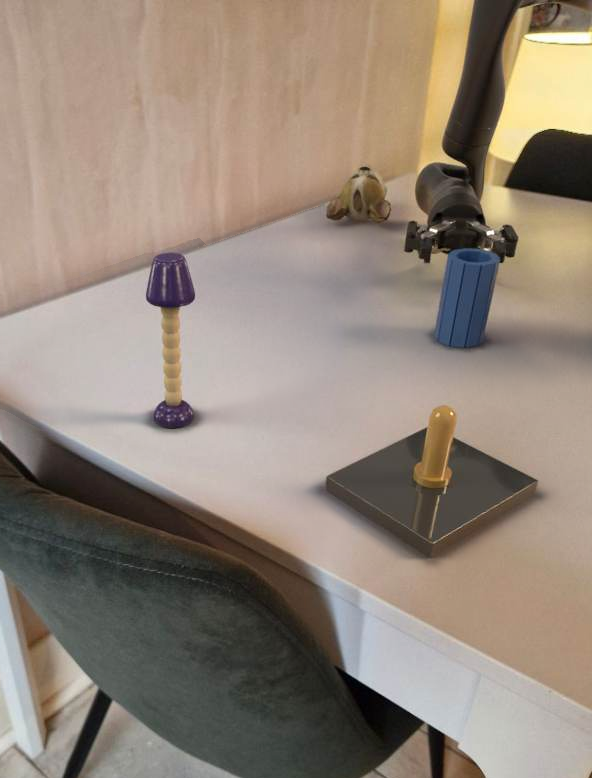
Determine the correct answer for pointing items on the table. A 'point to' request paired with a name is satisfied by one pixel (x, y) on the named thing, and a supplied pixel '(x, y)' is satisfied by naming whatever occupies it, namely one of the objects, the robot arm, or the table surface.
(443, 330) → the sleeve
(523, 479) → the yellow peg on plate
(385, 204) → the ceramic sculpture
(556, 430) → the table surface
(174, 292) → the toy lamp
